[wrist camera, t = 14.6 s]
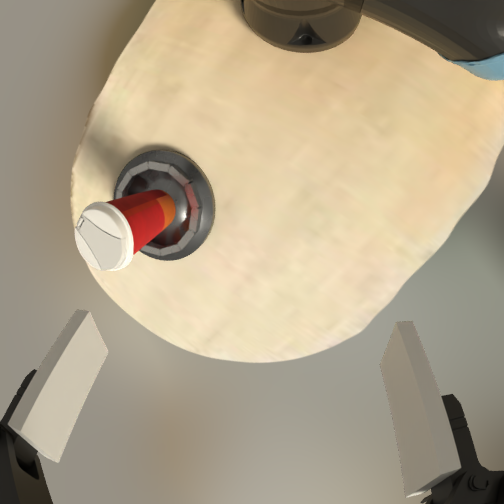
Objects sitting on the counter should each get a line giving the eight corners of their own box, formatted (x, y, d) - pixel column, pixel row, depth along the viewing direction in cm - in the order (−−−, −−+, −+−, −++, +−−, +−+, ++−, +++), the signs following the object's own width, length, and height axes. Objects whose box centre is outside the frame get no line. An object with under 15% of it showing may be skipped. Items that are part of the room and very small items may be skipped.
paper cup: (127, 209, 42) (63, 240, 30) (154, 170, 39) (88, 189, 27) (163, 245, 43) (108, 289, 30) (194, 208, 40) (140, 243, 27)
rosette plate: (154, 127, 38) (145, 127, 36) (239, 202, 40) (233, 206, 37) (103, 209, 45) (93, 213, 42) (173, 277, 46) (166, 285, 44)
